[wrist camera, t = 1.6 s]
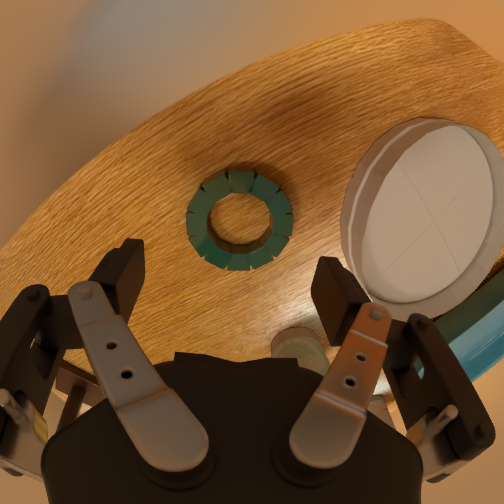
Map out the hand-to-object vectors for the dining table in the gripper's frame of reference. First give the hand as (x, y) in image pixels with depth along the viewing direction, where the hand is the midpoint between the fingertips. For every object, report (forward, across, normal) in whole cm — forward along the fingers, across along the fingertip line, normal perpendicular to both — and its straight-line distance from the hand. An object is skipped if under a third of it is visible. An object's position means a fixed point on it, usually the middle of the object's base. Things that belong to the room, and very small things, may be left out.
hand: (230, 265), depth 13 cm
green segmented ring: (+13, -1, +3) cm, 14 cm away
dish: (+14, -22, 0) cm, 26 cm away
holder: (+14, +22, +34) cm, 43 cm away
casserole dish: (+13, -44, +15) cm, 48 cm away
